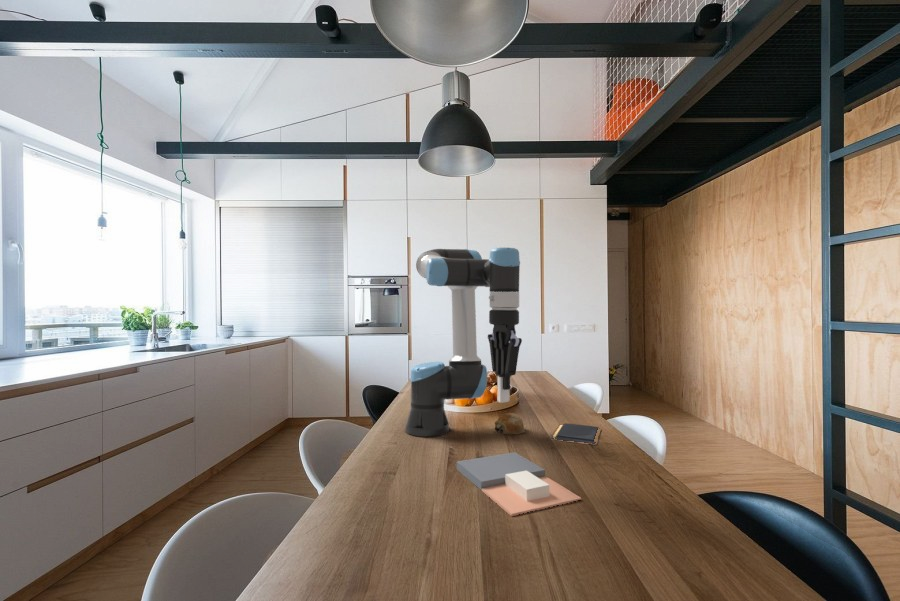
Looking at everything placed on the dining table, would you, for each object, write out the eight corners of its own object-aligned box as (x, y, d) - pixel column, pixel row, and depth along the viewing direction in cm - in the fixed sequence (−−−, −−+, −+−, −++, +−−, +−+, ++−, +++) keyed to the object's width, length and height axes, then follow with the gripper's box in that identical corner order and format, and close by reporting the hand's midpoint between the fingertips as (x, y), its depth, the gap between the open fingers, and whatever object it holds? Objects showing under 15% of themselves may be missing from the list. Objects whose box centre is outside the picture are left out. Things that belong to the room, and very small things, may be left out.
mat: (481, 490, 96) (481, 488, 96) (545, 478, 103) (545, 476, 103) (511, 516, 84) (511, 513, 84) (581, 500, 91) (581, 498, 91)
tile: (505, 485, 98) (505, 474, 98) (526, 480, 100) (526, 470, 100) (526, 501, 89) (526, 489, 90) (549, 496, 92) (549, 484, 92)
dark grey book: (596, 441, 127) (547, 435, 134) (596, 448, 127) (547, 441, 134) (603, 425, 145) (559, 420, 152) (603, 431, 145) (559, 425, 152)
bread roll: (521, 446, 138) (531, 424, 138) (493, 433, 138) (503, 411, 139) (516, 437, 148) (526, 417, 148) (491, 425, 148) (500, 404, 148)
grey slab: (456, 469, 109) (456, 461, 109) (514, 459, 116) (514, 452, 116) (481, 490, 96) (481, 481, 96) (545, 477, 103) (545, 469, 103)
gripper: (479, 308, 109) (478, 397, 109) (504, 309, 97) (504, 409, 98) (503, 308, 112) (502, 394, 112) (531, 309, 100) (530, 406, 101)
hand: (503, 401), depth 105 cm, fingers closed
